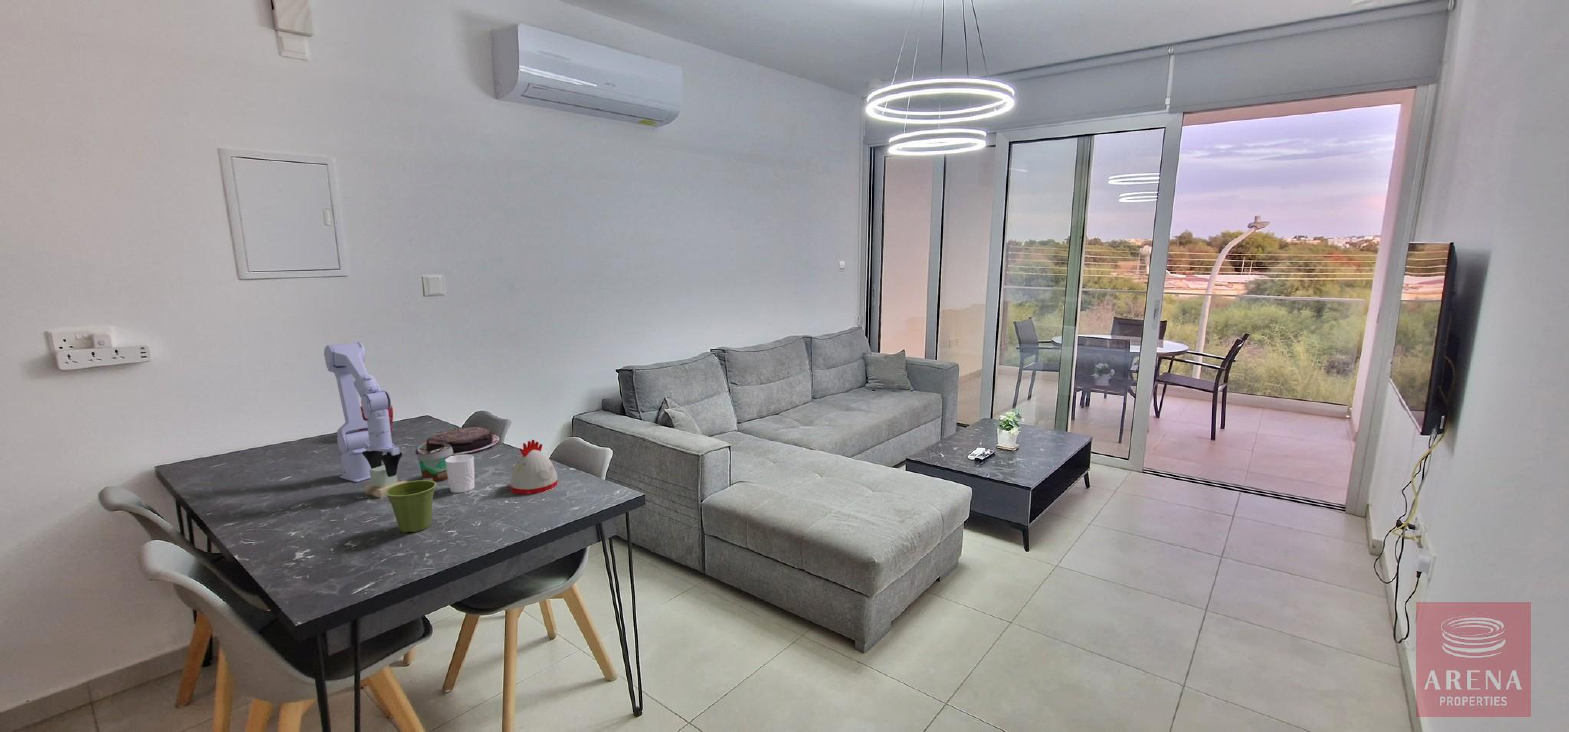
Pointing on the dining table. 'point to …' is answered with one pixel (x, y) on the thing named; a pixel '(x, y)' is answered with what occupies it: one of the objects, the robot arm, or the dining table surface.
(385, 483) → the sage cube
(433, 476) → the food container
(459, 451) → the chocolate cake
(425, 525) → the plant pot
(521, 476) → the kitchen timer
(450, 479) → the white cup
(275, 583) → the dining table surface
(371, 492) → the oak block
